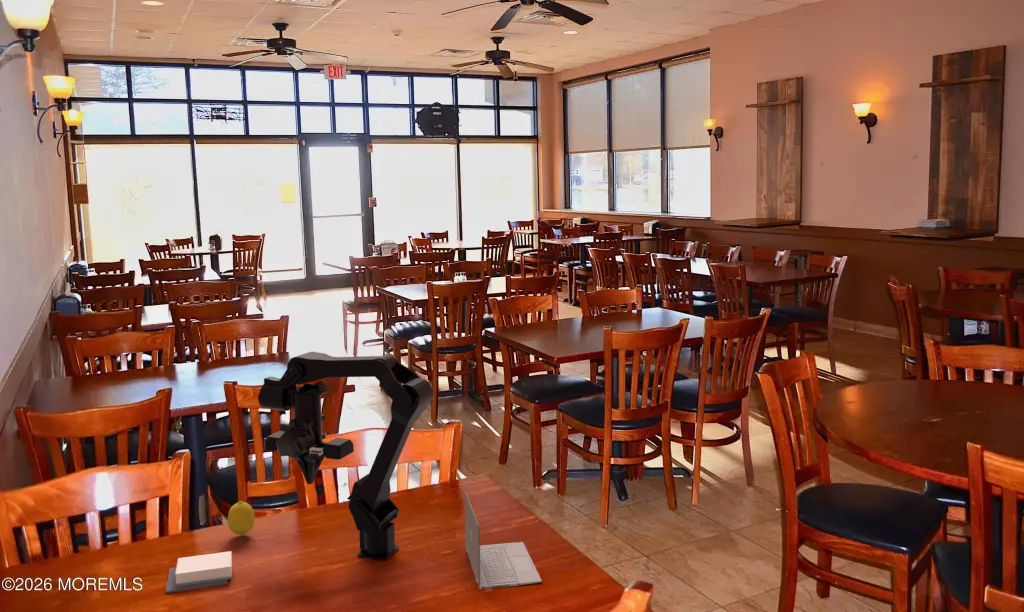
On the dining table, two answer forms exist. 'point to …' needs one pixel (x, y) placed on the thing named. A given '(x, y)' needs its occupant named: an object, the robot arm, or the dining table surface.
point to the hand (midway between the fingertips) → (310, 483)
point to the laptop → (497, 558)
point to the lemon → (241, 518)
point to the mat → (173, 588)
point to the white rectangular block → (204, 568)
